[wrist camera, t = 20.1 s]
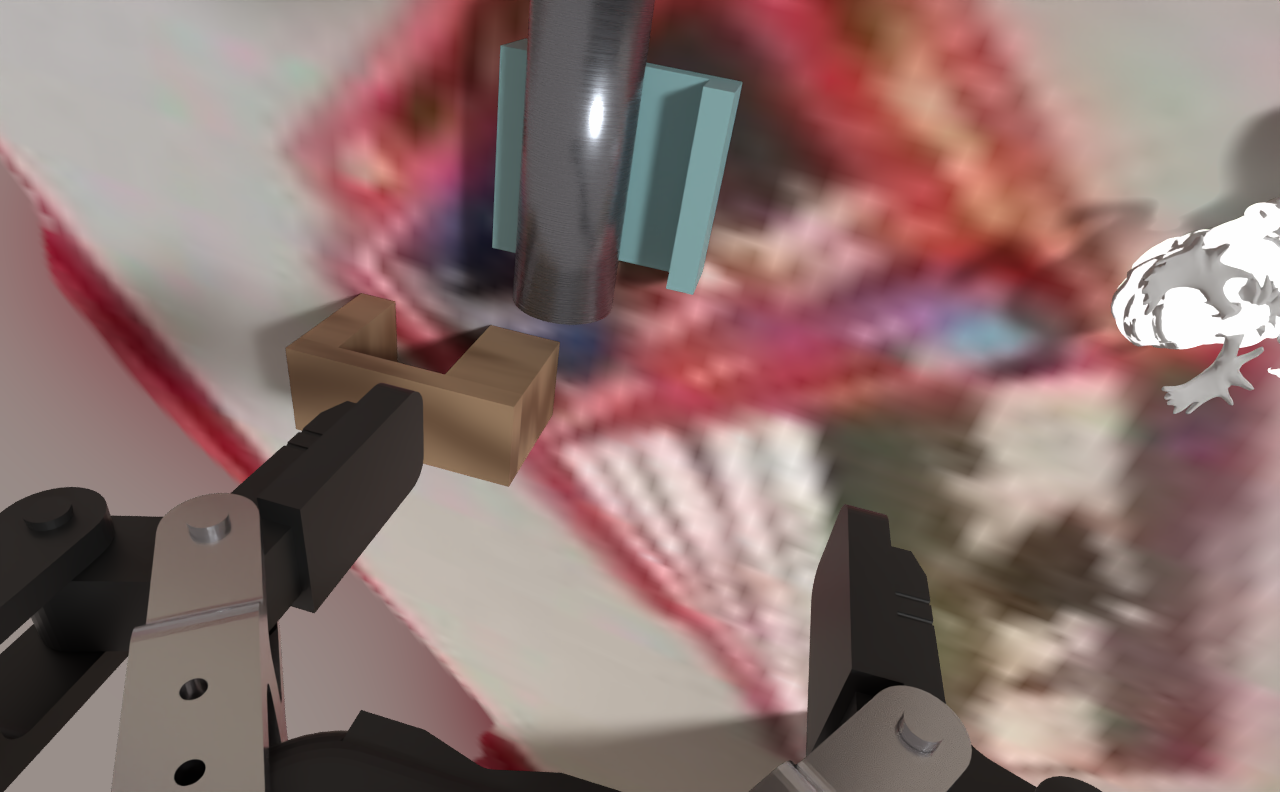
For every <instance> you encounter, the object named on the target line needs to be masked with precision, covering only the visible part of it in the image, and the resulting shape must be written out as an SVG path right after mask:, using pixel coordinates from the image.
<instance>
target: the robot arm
mask: <svg viewBox="0 0 1280 792" xmlns="http://www.w3.org/2000/svg"><path fill="white" fill-rule="evenodd" d="M423 460H424V432H423V399H422V396H421V394H420V393H419V392H416V391H413V390H409V389H405V388H401V387H397V386H393V385H390V384H386V383H378V384H377V385H375V386H374V387H373V388H372V389H371V390H370V391H369V392H368V393H367V394H366V395H365V396H363V397H362V398H361V399H360V400H359V401H358V402H357V403H354V402H350V401H345V402H343V403H341V404H339V405H336V406H334V407H332V408H330V409H328V410H325V411H323V412H321V413H320V414H319V415H317V416H316V417H315V418H314V419H313V420H312V421H311V422H310V423H309V424H307V425H306V426H305V427H304V428H303V430H302V432H301V433H300V432H298V433H297V434H296V435H295V436H294V437H293V438H292V439H291V440H290V441H288V444H287V446H283V447H282V448H281V449H279V450H278V451H277V452H276V453H275V454H274V455H273V456H272V457H271V458H269V459H268V460H267V461H266V462H265V463H264V464H263V465H262V466H261V467H259V468H258V469H257V470H256V471H255V472H254V473H253V474H252V475H250V476H249V477H248V478H247V479H246V480H245V481H244V482H243V483H242V484H240V485H239V486H238V487H237V488H236V489H235V490H234V491H233V492H232V493H216V494H215V493H214V494H208V495H202V496H199V497H195V498H192V499H190V500H187V501H185V502H183V503H181V504H179V505H177V506H176V507H174V508H173V509H171V510H170V511H169V512H168V513H167V514H166V515H165V516H164V517H145V516H143V517H142V516H110V513H109V510H108V507H107V504H106V501H105V499H104V498H103V497H102V496H101V495H100V494H99V493H97V492H95V491H93V490H90V489H85V488H79V487H66V488H56V489H51V490H46V491H42V492H39V493H36V494H33V495H30V496H28V497H25V498H23V499H21V500H19V501H17V502H15V503H14V504H12V505H11V506H9V507H8V508H6V509H5V510H3V511H2V512H1V513H0V644H2V643H3V642H4V641H5V640H6V639H7V638H8V637H9V636H10V635H11V634H13V633H14V632H15V631H16V630H17V629H18V628H19V627H20V626H21V625H23V624H24V623H25V622H26V621H27V620H28V619H29V618H32V621H33V623H34V624H33V625H32V626H31V627H30V628H29V629H28V630H27V631H25V632H24V633H23V634H22V635H21V636H20V637H19V638H18V639H17V640H16V641H14V642H13V643H12V644H11V645H10V646H9V647H8V648H7V649H6V650H5V651H3V652H2V653H1V654H0V792H4V791H5V790H6V789H7V787H8V786H9V785H10V784H11V783H12V782H13V781H14V780H15V779H16V778H17V776H18V775H19V774H20V773H21V772H22V771H23V770H24V769H25V768H26V767H27V766H28V765H29V763H30V762H31V761H32V760H33V759H34V758H35V757H36V756H37V755H38V754H39V753H40V751H41V750H42V749H43V748H44V747H45V746H46V745H47V744H48V743H49V742H50V740H51V739H52V738H53V737H54V736H55V735H56V734H57V733H58V732H59V731H60V730H61V729H62V727H63V726H64V725H65V724H66V723H67V722H68V721H69V720H70V719H71V718H72V717H73V715H74V714H75V713H76V712H77V711H78V710H79V709H80V708H81V707H82V706H83V704H84V703H85V702H86V701H87V700H88V699H89V698H90V697H91V696H92V695H93V694H94V693H95V691H96V690H97V689H98V688H99V687H100V686H101V685H102V684H103V683H104V682H105V681H106V679H107V678H108V677H109V676H110V675H111V674H112V673H113V672H114V671H115V670H116V668H117V667H118V666H119V665H120V664H121V663H122V662H123V661H124V660H125V659H126V658H127V657H128V663H127V671H126V679H125V686H124V694H123V702H122V710H121V718H120V726H119V734H118V742H117V749H116V757H115V765H114V772H113V780H112V788H111V792H621V791H618V790H615V789H611V788H608V787H605V786H602V785H599V784H595V783H592V782H589V781H586V780H583V779H579V778H576V777H573V776H570V775H567V774H564V773H554V772H532V771H511V770H492V769H486V768H483V767H481V766H479V765H477V764H476V763H474V762H473V761H471V760H470V759H468V758H467V757H465V756H464V755H462V754H461V753H459V752H458V751H456V750H454V749H453V748H451V747H450V746H448V745H447V744H445V743H444V742H442V741H441V740H439V739H438V738H436V737H435V736H433V735H432V734H430V733H429V732H427V731H426V730H423V729H420V728H416V727H414V726H410V725H407V724H404V723H400V722H398V721H395V720H391V719H388V718H385V717H382V716H378V715H375V714H372V713H368V712H366V711H363V710H361V711H360V713H359V714H358V716H357V717H356V719H355V721H354V722H353V724H352V725H351V727H350V729H349V730H348V731H330V732H320V733H314V734H309V735H304V736H301V737H297V738H294V739H291V740H288V736H287V726H286V715H285V699H284V683H283V667H282V650H281V635H280V625H279V619H280V618H281V617H282V616H283V614H284V613H285V612H286V611H287V610H288V609H289V607H290V606H292V607H296V608H299V609H302V610H306V611H309V612H312V613H315V612H316V611H317V610H318V608H319V607H320V606H321V604H322V603H323V602H324V601H325V599H326V598H327V597H328V595H329V594H330V593H331V592H332V590H333V589H334V588H335V587H336V585H337V584H338V583H339V582H340V580H341V579H342V578H343V576H344V575H345V574H346V573H347V571H348V570H349V569H350V568H351V566H352V565H353V564H354V562H355V561H356V560H357V559H358V557H359V556H360V555H361V554H362V552H363V551H364V550H365V549H366V547H367V546H368V545H369V543H370V542H371V541H372V540H373V538H374V537H375V536H376V535H377V533H378V532H379V531H380V529H381V528H382V527H383V526H384V524H385V523H386V522H387V521H388V519H389V518H390V517H391V515H392V514H393V513H394V512H395V510H396V509H397V508H398V507H399V505H400V504H401V503H402V501H403V500H404V499H405V498H406V496H407V495H408V494H409V493H410V491H411V490H412V489H413V487H414V486H415V484H416V482H417V480H418V478H419V476H420V473H421V470H422V466H423ZM929 603H930V596H929V589H928V583H927V576H926V574H925V573H924V571H923V570H922V568H921V566H920V565H919V563H918V562H917V560H916V558H915V557H914V555H913V554H912V552H911V551H907V550H904V549H900V548H896V547H892V546H891V540H890V530H889V521H888V517H887V515H884V514H880V513H876V512H873V511H869V510H865V509H861V508H857V507H853V506H850V505H846V504H845V505H844V506H843V507H842V508H841V510H840V512H839V515H838V517H837V520H836V522H835V525H834V527H833V530H832V532H831V535H830V537H829V540H828V542H827V545H826V547H825V550H824V552H823V555H822V557H821V560H820V563H819V565H818V568H817V572H816V575H815V579H814V584H813V590H812V599H811V626H810V656H809V685H808V714H807V743H806V758H805V759H803V760H802V761H801V762H799V763H798V764H796V765H795V764H794V763H793V762H792V761H787V762H785V763H783V764H781V765H780V766H778V767H777V768H776V769H775V770H773V771H772V772H771V773H770V774H769V775H768V776H766V777H765V778H764V779H763V780H762V781H761V782H759V783H758V784H757V785H756V786H755V787H754V788H753V789H751V790H750V791H749V792H1102V791H1100V790H1099V789H1097V788H1095V787H1094V786H1092V785H1090V784H1088V783H1086V782H1083V781H1081V780H1078V779H1074V778H1071V777H1063V776H1058V777H1051V778H1048V779H1046V780H1044V781H1043V782H1041V783H1040V784H1039V786H1038V787H1035V786H1033V785H1032V784H1030V783H1028V782H1027V781H1025V780H1023V779H1021V778H1020V777H1018V776H1016V775H1015V774H1013V773H1011V772H1009V771H1008V770H1006V769H1004V768H1003V767H1001V766H999V765H997V764H996V763H994V762H993V761H991V760H990V759H988V758H986V757H985V756H984V755H983V754H981V753H980V752H979V751H978V750H976V749H975V748H974V747H973V746H972V745H971V742H970V738H969V735H968V733H967V731H966V729H965V727H964V725H963V723H962V722H961V720H960V719H959V718H958V716H957V715H956V714H955V713H954V712H953V711H952V710H951V709H950V708H949V707H948V706H947V705H946V702H945V697H944V690H943V683H942V676H941V670H940V663H939V656H938V650H937V643H936V636H935V630H934V626H932V623H933V616H932V609H931V605H929Z"/></svg>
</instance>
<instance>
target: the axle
mask: <svg viewBox="0 0 1280 792" xmlns="http://www.w3.org/2000/svg"><path fill="white" fill-rule="evenodd" d="M654 3H655V0H530V9H529V27H528V44H527V61H526V79H525V96H524V114H523V131H522V149H521V166H520V184H519V201H518V219H517V236H516V253H515V271H514V288H513V300H514V303H515V304H516V306H517V307H518V308H519V309H520V310H521V311H523V312H524V313H526V314H528V315H530V316H532V317H534V318H537V319H540V320H543V321H547V322H552V323H558V324H569V325H576V324H586V323H592V322H595V321H598V320H601V319H603V318H604V317H606V316H607V315H608V314H609V313H610V312H611V309H612V303H613V296H614V289H615V282H616V275H617V268H618V261H619V253H620V246H621V239H622V232H623V225H624V218H625V211H626V203H627V196H628V189H629V182H630V175H631V168H632V160H633V153H634V146H635V139H636V132H637V125H638V118H639V110H640V103H641V96H642V89H643V82H644V75H645V67H646V60H647V53H648V46H649V39H650V32H651V25H652V17H653V10H654Z"/></svg>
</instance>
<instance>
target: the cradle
mask: <svg viewBox="0 0 1280 792" xmlns="http://www.w3.org/2000/svg"><path fill="white" fill-rule="evenodd" d="M527 44H528V39H522V40H518V41H515V42H511V43H508V44H504V45H501V46H500V71H499V95H498V120H497V144H496V169H495V193H494V218H493V242H492V248H496V249H500V250H504V251H509V252H513V253H516V236H517V219H518V201H519V184H520V166H521V149H522V131H523V114H524V96H525V79H526V61H527ZM741 87H742V82H741V81H736V80H731V79H726V78H721V77H716V76H711V75H706V74H701V73H696V72H691V71H686V70H681V69H676V68H671V67H666V66H661V65H656V64H651V63H646V67H645V75H644V82H643V89H642V96H641V103H640V110H639V118H638V125H637V132H636V139H635V146H634V153H633V160H632V168H631V175H630V182H629V189H628V196H627V203H626V211H625V218H624V225H623V232H622V239H621V246H620V253H619V260H620V261H625V262H629V263H633V264H638V265H642V266H646V267H650V268H655V269H659V270H663V271H668V272H669V276H668V281H667V287H666V289H671V290H675V291H679V292H684V293H688V294H692V295H693V294H694V291H695V289H696V286H697V284H698V281H699V279H700V277H701V274H702V272H703V267H704V262H705V258H706V253H707V248H708V243H709V239H710V234H711V229H712V225H713V220H714V215H715V210H716V206H717V201H718V196H719V191H720V187H721V182H722V177H723V172H724V168H725V163H726V158H727V153H728V149H729V144H730V139H731V135H732V130H733V125H734V120H735V116H736V111H737V106H738V101H739V97H740V92H741Z"/></svg>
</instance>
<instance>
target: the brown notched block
mask: <svg viewBox="0 0 1280 792" xmlns="http://www.w3.org/2000/svg"><path fill="white" fill-rule="evenodd" d="M559 344H560V342H557V341H553V340H549V339H545V338H541V337H537V336H532V335H528V334H524V333H520V332H516V331H512V330H508V329H504V328H500V327H496V326H492V325H490V326H489V327H488V328H487V330H486V331H485V332H484V333H483V334H482V335H481V336H480V337H479V338H478V339H477V340H476V341H475V343H474V344H473V345H472V346H471V347H470V348H469V349H468V350H467V351H466V352H465V353H464V354H463V356H462V357H461V358H460V359H459V360H458V361H457V362H456V363H455V364H454V365H453V366H452V368H451V369H450V370H449V371H448V372H447V373H446V374H441V373H437V372H433V371H429V370H425V369H421V368H417V367H413V366H409V365H406V364H402V363H398V362H397V335H396V309H395V301H391V300H387V299H383V298H378V297H374V296H370V295H366V294H362V293H361V294H360V295H358V296H357V297H356V298H354V299H353V300H351V301H350V302H349V303H347V304H346V305H344V306H343V307H342V308H340V309H339V310H338V311H336V312H335V313H333V314H332V315H331V316H329V317H328V318H326V319H325V320H324V321H322V322H321V323H319V324H318V325H317V326H315V327H314V328H313V329H311V330H310V331H308V332H307V333H306V334H304V335H303V336H301V337H300V338H299V339H297V340H296V341H294V342H293V343H292V344H290V345H289V346H288V347H286V348H285V349H286V357H287V364H288V372H289V379H290V387H291V394H292V402H293V409H294V417H295V424H296V429H298V430H303V428H304V427H305V426H306V425H307V424H309V423H310V422H311V421H312V420H313V419H314V418H315V417H316V416H317V415H319V414H320V413H321V412H323V411H325V410H328V409H330V408H332V407H334V406H336V405H339V404H341V403H343V402H345V401H350V402H354V403H357V402H358V401H359V400H360V399H361V398H362V397H363V396H365V395H366V394H367V393H368V392H369V391H370V390H371V389H372V388H373V387H374V386H375V385H377V384H378V383H386V384H390V385H393V386H397V387H401V388H405V389H409V390H413V391H416V392H419V393H420V394H421V396H422V399H423V432H424V460H423V464H427V465H431V466H434V467H438V468H442V469H445V470H449V471H453V472H456V473H460V474H464V475H467V476H471V477H475V478H478V479H482V480H486V481H490V482H493V483H497V484H501V485H504V486H508V487H509V485H510V484H511V482H512V480H513V479H514V477H515V475H516V474H517V472H518V471H519V469H520V467H521V466H522V464H523V462H524V461H525V459H526V457H527V456H528V454H529V453H530V451H531V449H532V448H533V446H534V444H535V443H536V441H537V439H538V438H539V436H540V434H541V433H542V431H543V430H544V428H545V426H546V425H547V423H548V421H549V420H550V418H551V416H552V413H553V403H554V393H555V384H556V374H557V364H558V354H559Z"/></svg>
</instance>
